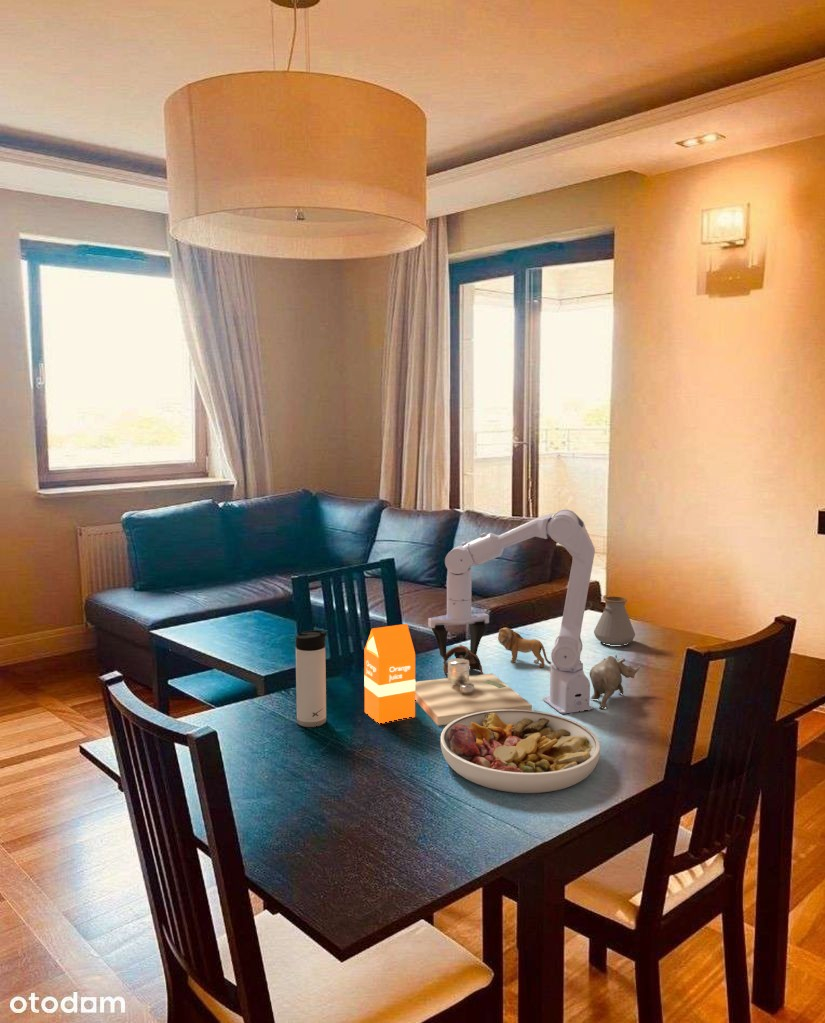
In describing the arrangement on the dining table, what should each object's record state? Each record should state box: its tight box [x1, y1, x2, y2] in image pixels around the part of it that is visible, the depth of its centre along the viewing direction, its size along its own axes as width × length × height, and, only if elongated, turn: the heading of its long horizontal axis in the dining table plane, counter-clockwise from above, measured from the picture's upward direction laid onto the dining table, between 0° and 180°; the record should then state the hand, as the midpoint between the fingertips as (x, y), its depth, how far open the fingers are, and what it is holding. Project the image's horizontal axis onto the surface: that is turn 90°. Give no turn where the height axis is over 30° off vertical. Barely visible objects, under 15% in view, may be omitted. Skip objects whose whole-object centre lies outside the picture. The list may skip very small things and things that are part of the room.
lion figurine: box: [497, 627, 552, 668], centre depth 213 cm, size 15×5×9 cm, turn 70°
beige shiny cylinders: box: [447, 657, 474, 694], centre depth 189 cm, size 11×5×5 cm, turn 18°
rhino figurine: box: [589, 654, 641, 708], centre depth 188 cm, size 8×14×15 cm
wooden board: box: [415, 673, 533, 726], centre depth 186 cm, size 22×22×2 cm
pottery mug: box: [442, 644, 484, 676], centre depth 205 cm, size 12×10×8 cm
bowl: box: [440, 709, 601, 794], centre depth 154 cm, size 30×30×8 cm
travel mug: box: [295, 629, 328, 728], centre depth 172 cm, size 6×7×20 cm
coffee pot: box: [587, 596, 636, 645], centre depth 227 cm, size 21×12×15 cm, turn 137°
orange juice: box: [363, 623, 416, 725], centre depth 177 cm, size 8×9×20 cm
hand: (458, 654), depth 190 cm, fingers open, 7 cm apart
